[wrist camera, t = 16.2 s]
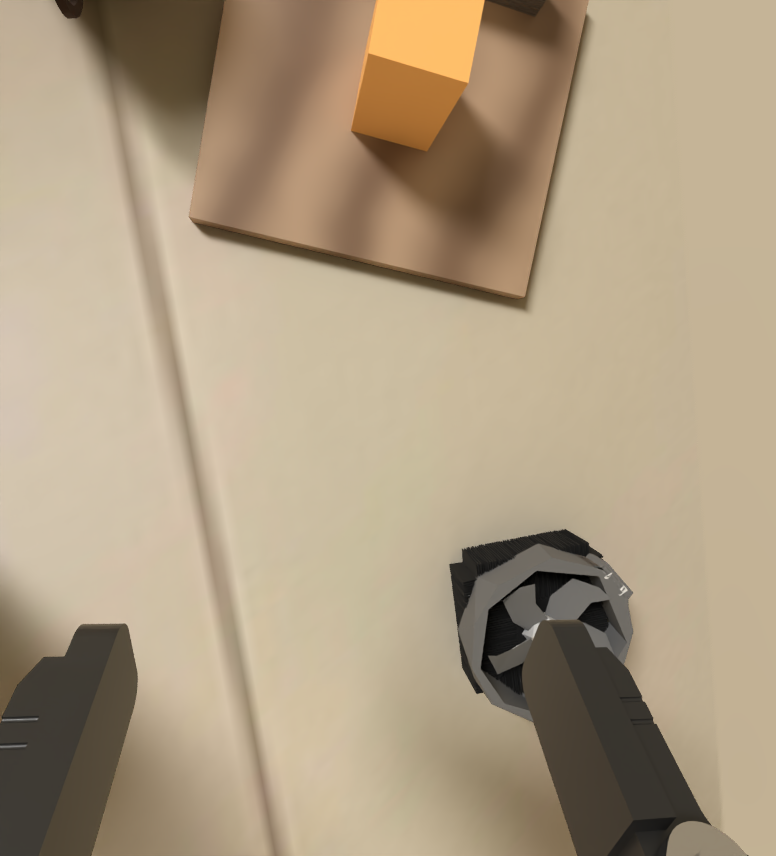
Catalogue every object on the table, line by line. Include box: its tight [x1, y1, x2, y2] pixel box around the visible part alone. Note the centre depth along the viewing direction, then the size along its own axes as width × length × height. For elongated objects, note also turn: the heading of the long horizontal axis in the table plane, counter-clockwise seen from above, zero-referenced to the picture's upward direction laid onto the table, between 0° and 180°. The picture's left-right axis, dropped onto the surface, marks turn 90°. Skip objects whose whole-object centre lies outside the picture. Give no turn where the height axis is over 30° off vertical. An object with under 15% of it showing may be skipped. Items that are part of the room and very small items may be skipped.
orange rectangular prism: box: [351, 0, 485, 151], centre depth 28 cm, size 4×4×8 cm
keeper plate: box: [189, 0, 589, 299], centre depth 30 cm, size 20×18×5 cm
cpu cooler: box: [449, 529, 633, 722], centre depth 35 cm, size 10×6×10 cm
